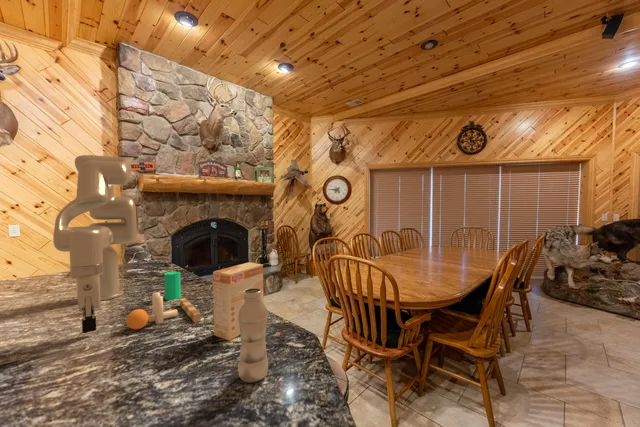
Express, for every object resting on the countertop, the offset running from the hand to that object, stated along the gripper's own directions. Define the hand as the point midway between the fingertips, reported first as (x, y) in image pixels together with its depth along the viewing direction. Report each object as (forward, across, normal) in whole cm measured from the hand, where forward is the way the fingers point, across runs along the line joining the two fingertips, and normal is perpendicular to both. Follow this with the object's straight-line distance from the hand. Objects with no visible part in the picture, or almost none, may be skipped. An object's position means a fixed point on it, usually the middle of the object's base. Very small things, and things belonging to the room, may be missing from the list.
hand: (89, 330), depth 84 cm
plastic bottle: (+2, -50, -29) cm, 58 cm away
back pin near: (+2, -2, -18) cm, 18 cm away
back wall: (+2, 0, -28) cm, 28 cm away
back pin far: (+2, +2, -18) cm, 18 cm away
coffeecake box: (+2, -24, -37) cm, 44 cm away
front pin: (0, 0, -15) cm, 15 cm away
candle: (+2, +22, -27) cm, 35 cm away
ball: (-2, -3, -12) cm, 12 cm away
